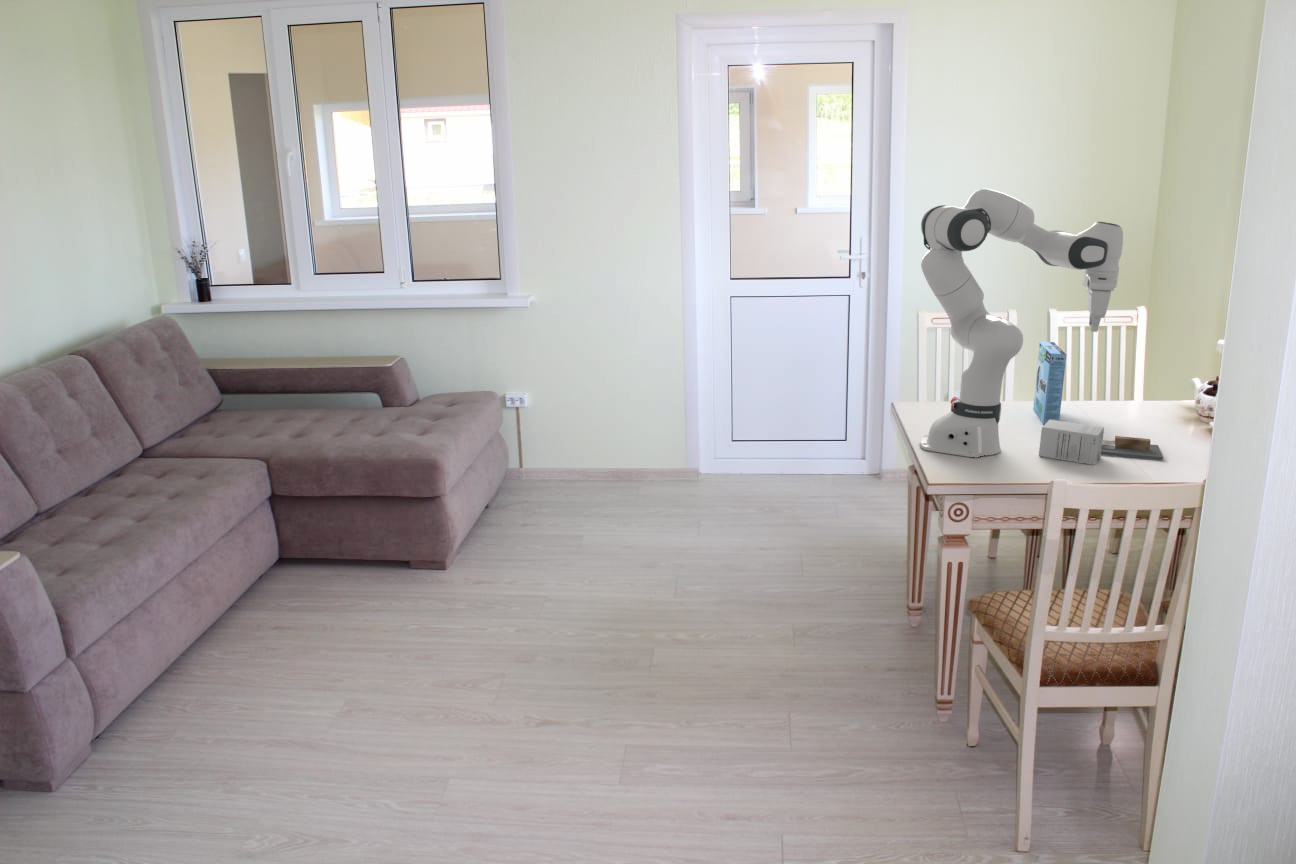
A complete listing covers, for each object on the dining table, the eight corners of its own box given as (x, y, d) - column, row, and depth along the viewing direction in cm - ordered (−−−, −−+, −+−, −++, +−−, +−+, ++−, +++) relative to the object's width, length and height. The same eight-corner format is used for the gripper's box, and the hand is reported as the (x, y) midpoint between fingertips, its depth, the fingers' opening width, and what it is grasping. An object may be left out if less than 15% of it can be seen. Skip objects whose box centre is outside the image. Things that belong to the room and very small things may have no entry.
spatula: (1095, 447, 286) (1097, 437, 285) (1094, 442, 290) (1096, 432, 289) (1149, 452, 281) (1151, 442, 280) (1147, 447, 285) (1149, 437, 285)
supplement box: (1101, 456, 280) (1045, 447, 288) (1105, 426, 277) (1049, 418, 285) (1094, 466, 273) (1037, 456, 281) (1098, 435, 270) (1041, 426, 278)
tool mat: (1085, 453, 284) (1085, 449, 283) (1082, 441, 294) (1083, 438, 294) (1162, 460, 277) (1163, 457, 277) (1157, 448, 288) (1158, 445, 288)
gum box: (1058, 425, 311) (1067, 354, 304) (1041, 424, 312) (1050, 353, 305) (1047, 409, 329) (1055, 341, 322) (1031, 408, 330) (1039, 341, 323)
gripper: (1086, 275, 291) (1079, 322, 295) (1090, 284, 273) (1083, 333, 277) (1109, 276, 289) (1102, 323, 293) (1115, 285, 271) (1107, 335, 275)
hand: (1093, 328), depth 285 cm, fingers open, 8 cm apart
